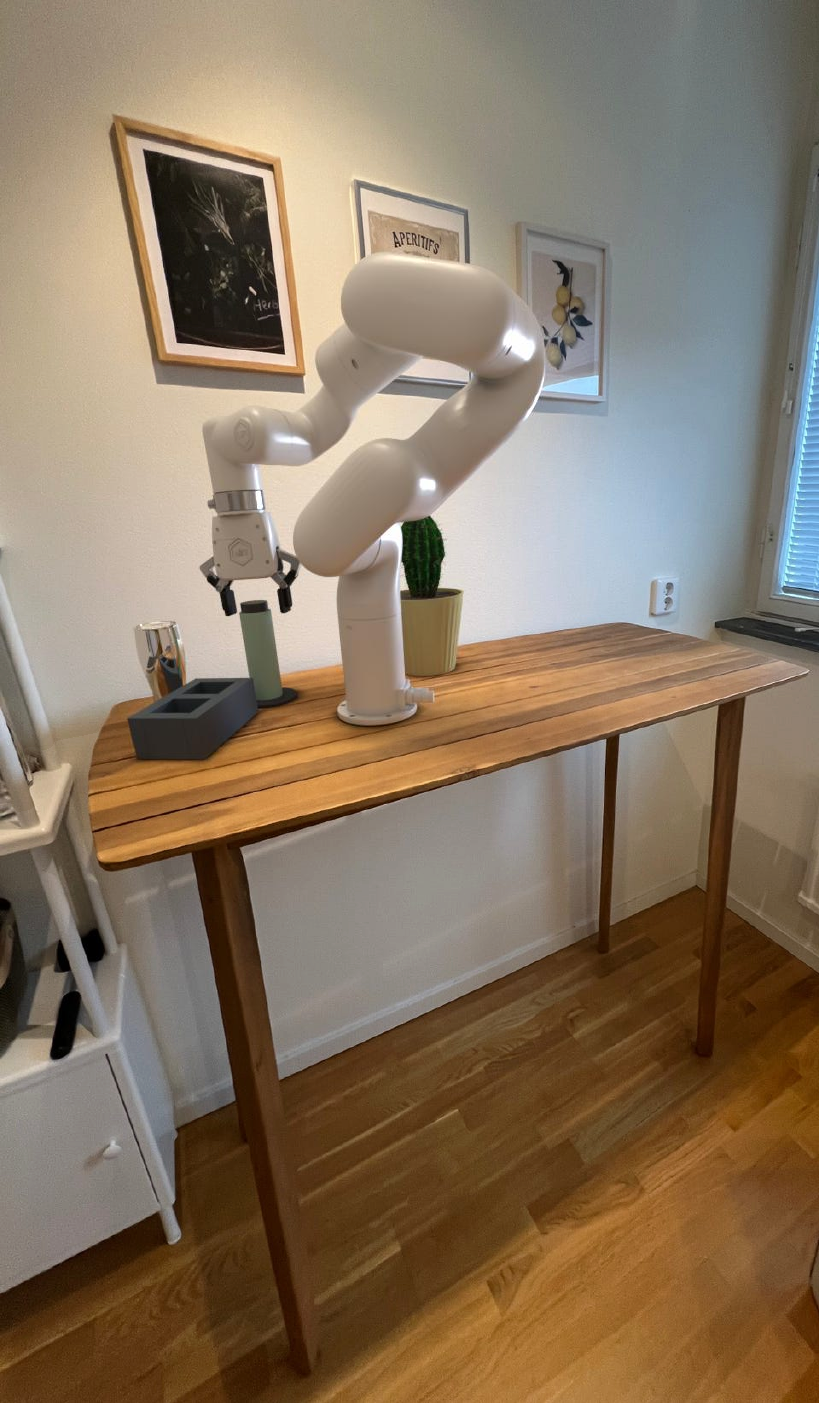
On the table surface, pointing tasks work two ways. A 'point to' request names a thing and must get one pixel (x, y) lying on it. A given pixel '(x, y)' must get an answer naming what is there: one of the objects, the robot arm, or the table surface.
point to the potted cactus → (427, 602)
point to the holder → (193, 719)
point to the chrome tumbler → (161, 656)
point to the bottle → (261, 649)
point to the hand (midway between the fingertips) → (258, 613)
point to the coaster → (279, 698)
